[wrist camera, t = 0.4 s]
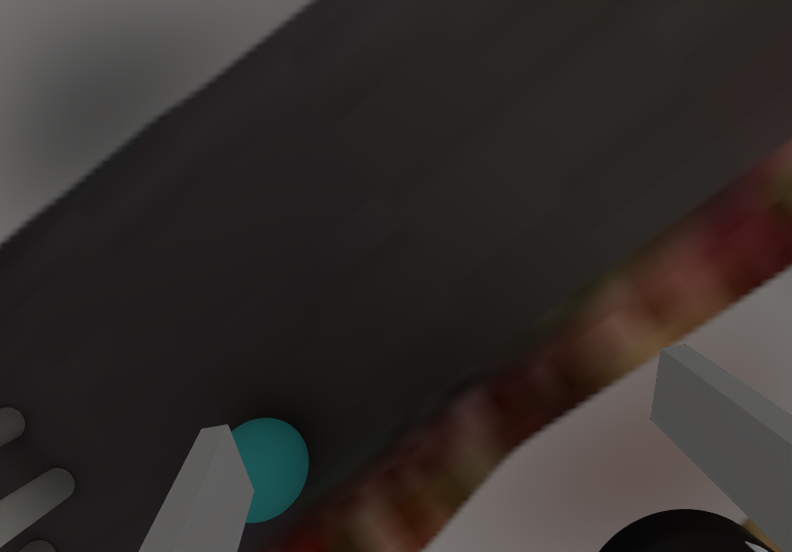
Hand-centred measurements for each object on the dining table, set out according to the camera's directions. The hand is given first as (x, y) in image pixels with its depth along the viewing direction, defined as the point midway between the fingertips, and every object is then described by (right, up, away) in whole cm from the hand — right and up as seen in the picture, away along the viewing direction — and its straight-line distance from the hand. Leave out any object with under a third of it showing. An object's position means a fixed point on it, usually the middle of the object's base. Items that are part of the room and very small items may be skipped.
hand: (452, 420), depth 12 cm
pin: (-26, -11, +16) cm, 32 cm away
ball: (-10, -8, +13) cm, 18 cm away
